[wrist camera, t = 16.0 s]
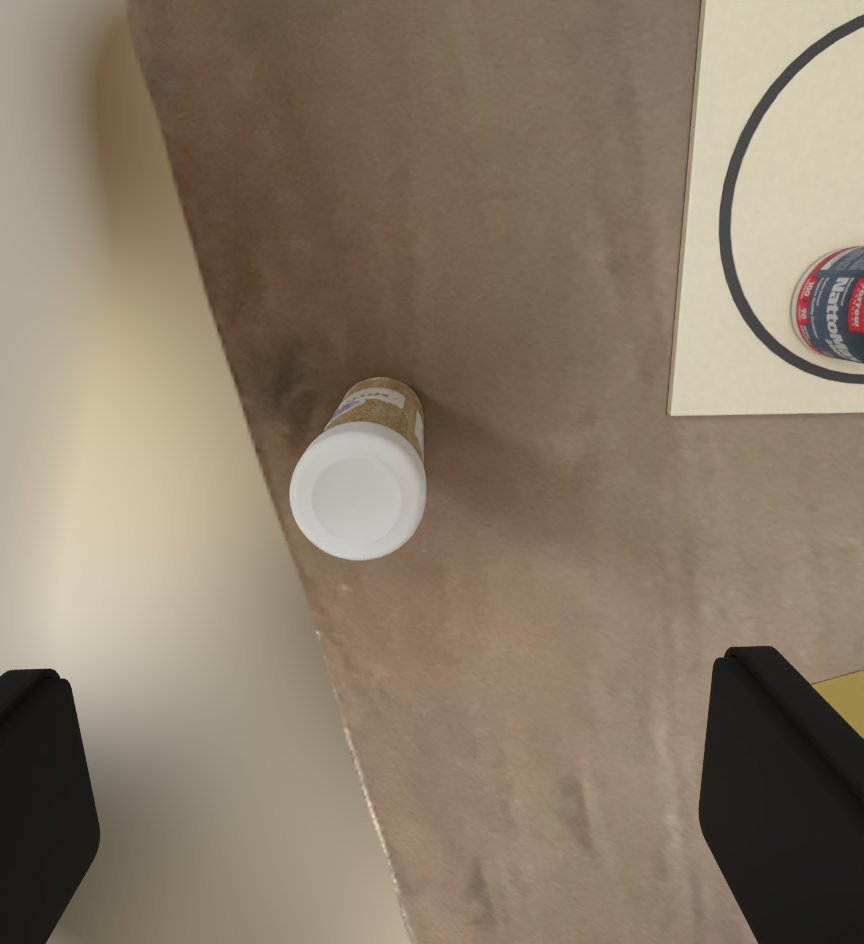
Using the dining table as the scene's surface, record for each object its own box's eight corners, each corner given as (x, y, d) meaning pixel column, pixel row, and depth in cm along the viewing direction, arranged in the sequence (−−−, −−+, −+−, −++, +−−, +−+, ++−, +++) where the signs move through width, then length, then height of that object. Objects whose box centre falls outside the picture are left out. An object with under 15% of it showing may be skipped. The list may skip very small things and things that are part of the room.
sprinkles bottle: (372, 357, 33) (341, 403, 21) (442, 411, 34) (455, 488, 21) (320, 427, 34) (259, 513, 21) (389, 477, 35) (371, 590, 22)
